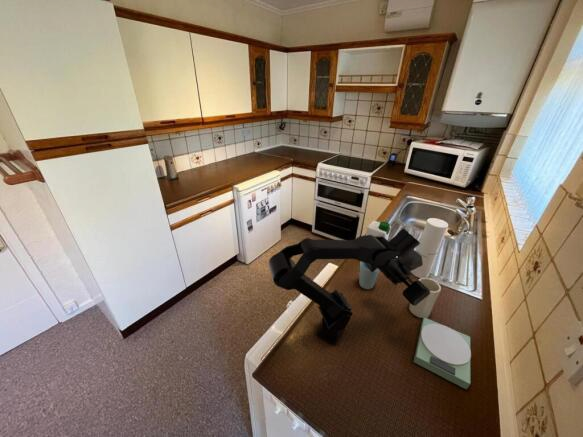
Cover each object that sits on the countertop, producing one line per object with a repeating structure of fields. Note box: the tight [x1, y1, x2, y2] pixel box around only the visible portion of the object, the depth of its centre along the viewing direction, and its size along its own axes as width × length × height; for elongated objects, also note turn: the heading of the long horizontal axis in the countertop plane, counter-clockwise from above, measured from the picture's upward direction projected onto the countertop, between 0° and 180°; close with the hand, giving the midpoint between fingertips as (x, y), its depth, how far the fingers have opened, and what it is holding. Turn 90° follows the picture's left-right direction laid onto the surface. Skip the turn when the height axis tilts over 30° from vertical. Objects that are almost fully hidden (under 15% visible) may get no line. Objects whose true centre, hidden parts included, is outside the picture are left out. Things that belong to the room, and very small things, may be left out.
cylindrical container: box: [410, 217, 449, 279], centre depth 97 cm, size 7×7×25 cm
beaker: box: [408, 277, 442, 319], centre depth 82 cm, size 7×7×12 cm
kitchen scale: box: [413, 317, 472, 390], centre depth 71 cm, size 16×13×3 cm
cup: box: [358, 261, 381, 290], centre depth 94 cm, size 8×8×10 cm
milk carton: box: [365, 220, 392, 241], centre depth 105 cm, size 9×9×20 cm
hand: (410, 286), depth 77 cm, fingers open, 9 cm apart
